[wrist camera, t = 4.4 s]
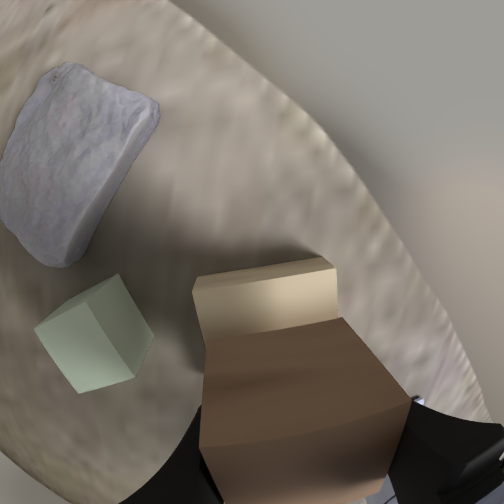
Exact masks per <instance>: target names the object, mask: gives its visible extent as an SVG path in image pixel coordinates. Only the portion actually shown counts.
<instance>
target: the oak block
mask: <svg viewBox="0 0 504 504" xmlns="http://www.w3.org/2000/svg"><path fill="white" fill-rule="evenodd" d="M192 294H193V299H194V303H195V307H196V312H197V316H198V320H199V324H200V328H201V332H202V336H203V340H204V344H205V348H207V340H209V339H217V338H225V337H232V336H240V335H247V334H253V333H260V332H266V331H273V330H279V329H284V328H290V327H296V326H301V325H306V324H312V323H317V322H322V321H327V320H332V319H336V318H338V297H337V277H336V268H335V267H334V266H333V265H332V264H331V263H329V262H328V261H327V260H326V259H325V258H324V257H317V258H311V259H305V260H299V261H293V262H287V263H280V264H274V265H268V266H262V267H256V268H249V269H243V270H236V271H230V272H224V273H217V274H210V275H204V276H197V279H196V281H195V284H194V287H193V289H192Z"/></svg>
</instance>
